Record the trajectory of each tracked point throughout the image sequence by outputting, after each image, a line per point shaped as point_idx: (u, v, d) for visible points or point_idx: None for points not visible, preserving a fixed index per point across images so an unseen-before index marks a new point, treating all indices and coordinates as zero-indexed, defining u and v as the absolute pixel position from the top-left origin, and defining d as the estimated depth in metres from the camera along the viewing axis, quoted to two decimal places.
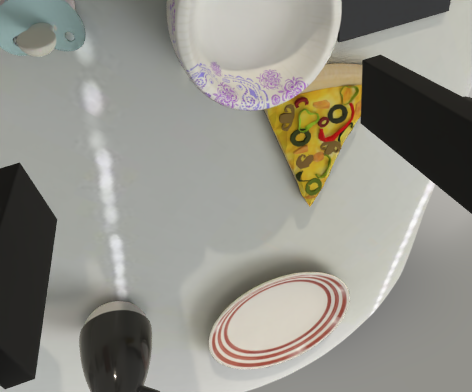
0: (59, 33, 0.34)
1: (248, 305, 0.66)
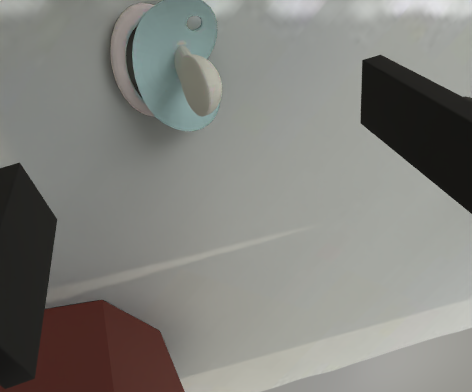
0: (189, 38, 0.21)
1: None
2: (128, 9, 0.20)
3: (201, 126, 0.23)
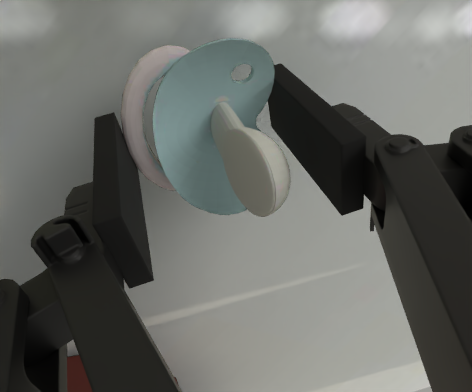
0: (233, 92, 0.15)
1: None
2: (148, 55, 0.14)
3: (244, 207, 0.17)
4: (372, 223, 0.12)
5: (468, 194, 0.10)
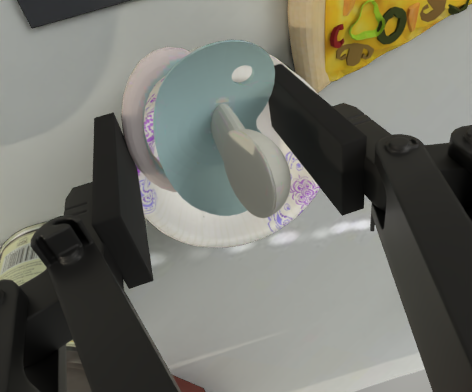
0: (234, 94, 0.15)
1: None
2: (148, 56, 0.14)
3: (244, 208, 0.17)
4: (373, 223, 0.12)
5: (468, 194, 0.10)
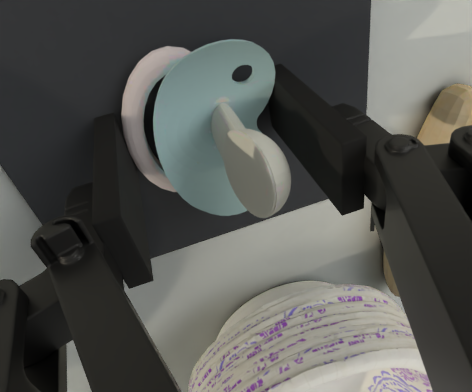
0: (234, 93, 0.15)
1: None
2: (148, 56, 0.14)
3: (245, 207, 0.17)
4: (372, 223, 0.12)
5: (469, 194, 0.10)
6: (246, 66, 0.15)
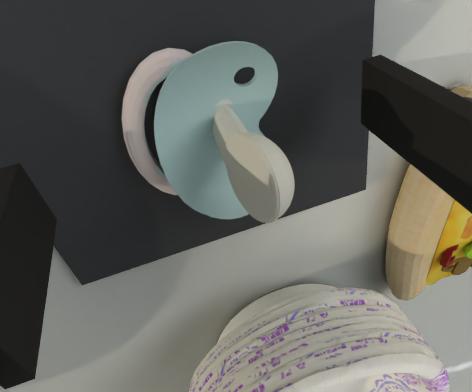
0: (236, 96, 0.15)
1: None
2: (149, 58, 0.13)
3: (246, 211, 0.17)
4: None
5: None
6: (248, 68, 0.15)
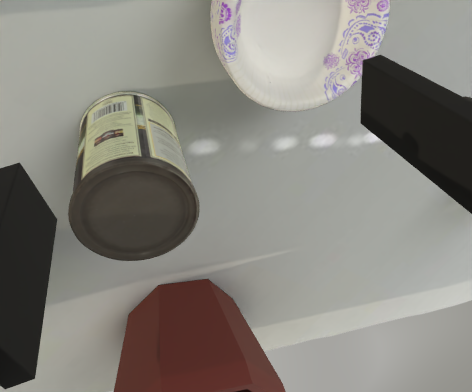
0: None
1: None
2: None
3: None
4: None
5: None
6: None
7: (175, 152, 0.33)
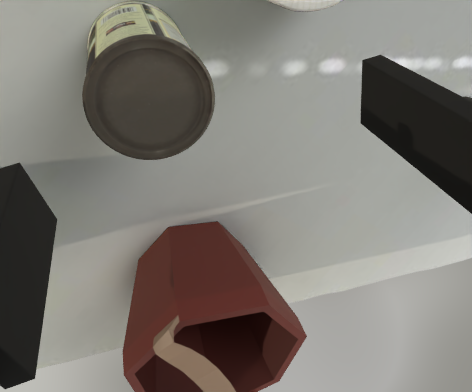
0: None
1: None
2: None
3: None
4: None
5: None
6: None
7: (188, 45, 0.32)
